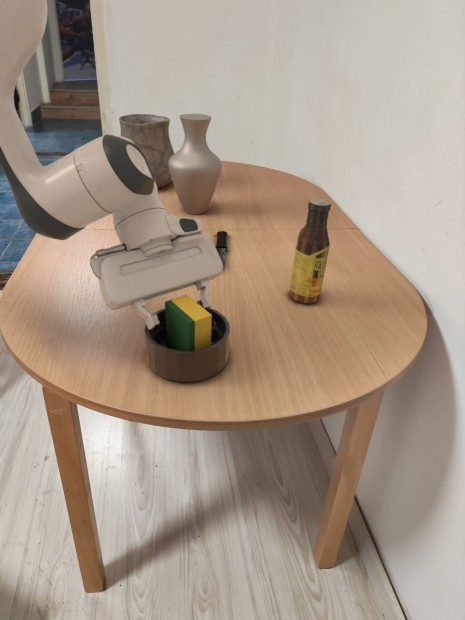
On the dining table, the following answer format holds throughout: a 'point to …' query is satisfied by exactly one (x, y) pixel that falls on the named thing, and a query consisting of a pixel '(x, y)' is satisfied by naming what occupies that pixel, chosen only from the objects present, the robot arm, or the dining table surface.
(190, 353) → the bowl
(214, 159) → the vase
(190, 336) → the sponge
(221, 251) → the knife
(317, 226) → the sauce bottle
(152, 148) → the vessel
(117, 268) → the robot arm
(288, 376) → the dining table surface
